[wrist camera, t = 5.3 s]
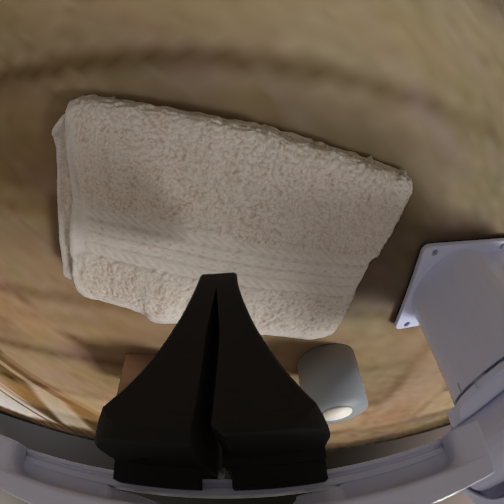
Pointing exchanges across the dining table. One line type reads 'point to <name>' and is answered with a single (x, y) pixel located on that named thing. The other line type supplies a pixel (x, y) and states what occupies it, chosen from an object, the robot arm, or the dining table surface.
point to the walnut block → (133, 368)
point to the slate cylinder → (333, 381)
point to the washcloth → (217, 213)
